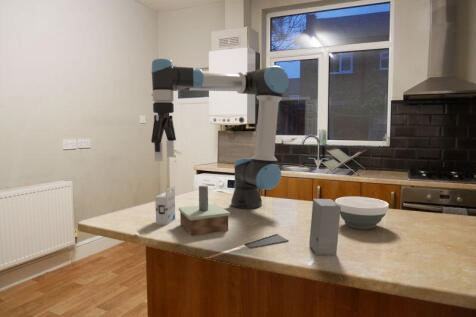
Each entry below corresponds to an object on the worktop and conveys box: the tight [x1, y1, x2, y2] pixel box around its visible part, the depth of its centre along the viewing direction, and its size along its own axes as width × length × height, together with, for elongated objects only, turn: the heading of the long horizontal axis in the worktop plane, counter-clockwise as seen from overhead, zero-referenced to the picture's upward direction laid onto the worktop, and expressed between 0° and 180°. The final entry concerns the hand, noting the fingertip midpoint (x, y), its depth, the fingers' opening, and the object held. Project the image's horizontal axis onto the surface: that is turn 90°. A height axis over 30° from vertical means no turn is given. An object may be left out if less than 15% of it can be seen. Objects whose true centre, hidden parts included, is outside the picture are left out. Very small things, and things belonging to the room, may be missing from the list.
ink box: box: [154, 185, 176, 226], centre depth 133 cm, size 9×5×15 cm, turn 168°
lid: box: [178, 185, 231, 220], centre depth 124 cm, size 15×15×10 cm
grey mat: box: [244, 233, 289, 249], centre depth 116 cm, size 15×15×1 cm
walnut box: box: [179, 211, 229, 237], centre depth 125 cm, size 14×14×6 cm
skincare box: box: [308, 198, 341, 256], centre depth 104 cm, size 8×7×16 cm
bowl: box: [334, 196, 389, 231], centre depth 130 cm, size 20×20×10 cm
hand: (165, 159), depth 126 cm, fingers open, 13 cm apart
